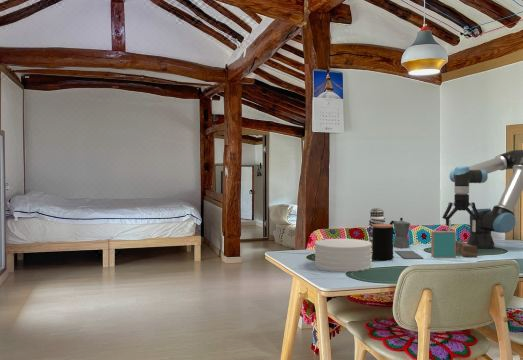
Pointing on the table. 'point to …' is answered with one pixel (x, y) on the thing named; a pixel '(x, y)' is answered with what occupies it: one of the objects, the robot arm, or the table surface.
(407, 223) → the coffeepot
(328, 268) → the plate stack
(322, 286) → the table surface
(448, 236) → the glazed tile
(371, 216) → the decorative candle
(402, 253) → the rubber mat
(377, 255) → the coffee jar
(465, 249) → the brown wooden block
